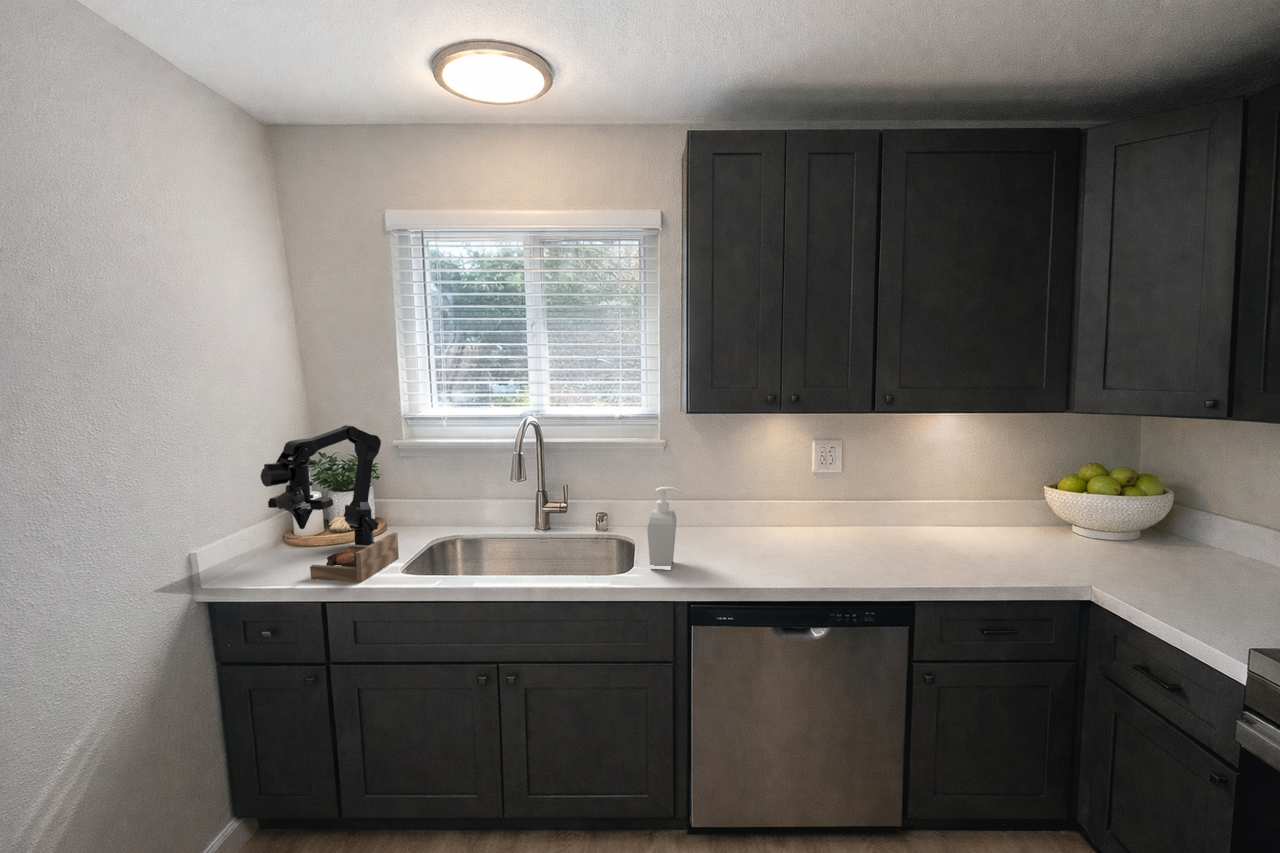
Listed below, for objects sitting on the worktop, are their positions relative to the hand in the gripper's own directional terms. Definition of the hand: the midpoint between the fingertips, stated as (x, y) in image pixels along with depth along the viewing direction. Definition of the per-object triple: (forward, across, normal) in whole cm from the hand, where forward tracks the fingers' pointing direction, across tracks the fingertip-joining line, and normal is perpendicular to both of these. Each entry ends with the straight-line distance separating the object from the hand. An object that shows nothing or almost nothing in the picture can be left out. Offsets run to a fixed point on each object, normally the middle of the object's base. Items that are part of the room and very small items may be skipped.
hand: (302, 528), depth 197 cm
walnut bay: (+12, +18, -1) cm, 21 cm away
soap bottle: (+12, +114, +17) cm, 116 cm away
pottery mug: (+12, +18, -4) cm, 22 cm away
